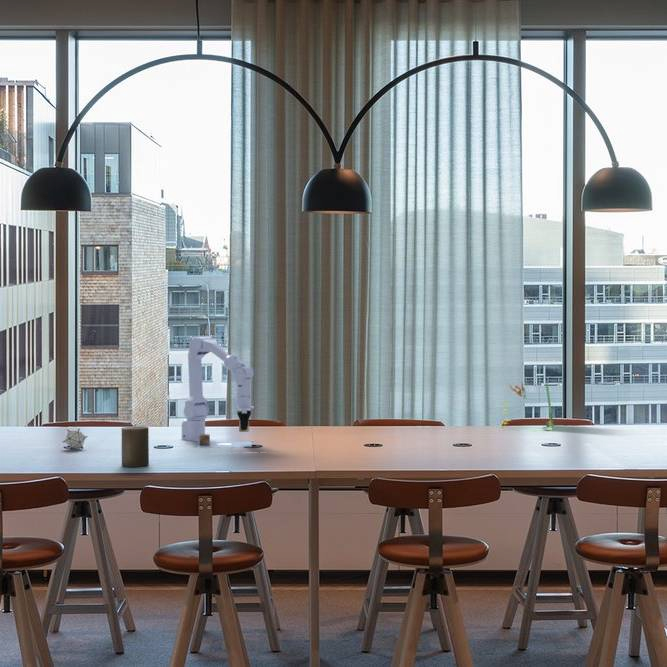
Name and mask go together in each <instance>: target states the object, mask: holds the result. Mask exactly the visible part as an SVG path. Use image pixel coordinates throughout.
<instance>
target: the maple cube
mask: <svg viewBox="0 0 667 667" xmlns="http://www.w3.org/2000/svg"><path fill="white" fill-rule="evenodd" d="M238 429H239V430H238V432H240V433H244V432H245V433H247V432H248V433H249V432H250V420H249V421H248V427H247V430H242V429H241V424H240V420H239V422H238Z"/></svg>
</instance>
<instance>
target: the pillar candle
mask: <svg viewBox="0 0 667 667" xmlns="http://www.w3.org/2000/svg"><path fill="white" fill-rule="evenodd" d="M149 432H150V431H149V426H136V425H134V426H123V427H121V467H125V468H141V467H148V466H149V465H150V460H149V456H150V454H149V453H150V452H149V451H150V448H149V444H150V442H149V441H150V440H149V438H150V436H149Z"/></svg>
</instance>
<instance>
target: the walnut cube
mask: <svg viewBox="0 0 667 667" xmlns="http://www.w3.org/2000/svg"><path fill="white" fill-rule="evenodd" d="M210 438H211V436H210V433H207V434H206V433H205V434H200V436H199V439H200V441H199V442H200V446H201V445H210V442H211V441H210V440H211V439H210Z"/></svg>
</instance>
